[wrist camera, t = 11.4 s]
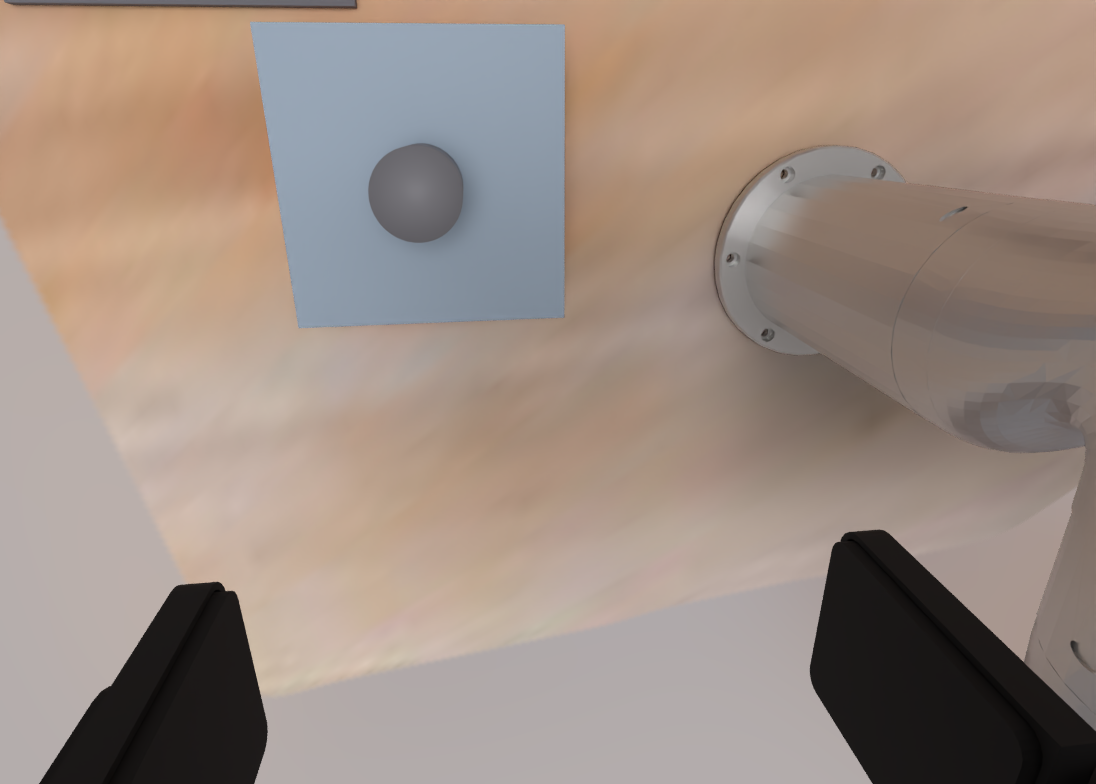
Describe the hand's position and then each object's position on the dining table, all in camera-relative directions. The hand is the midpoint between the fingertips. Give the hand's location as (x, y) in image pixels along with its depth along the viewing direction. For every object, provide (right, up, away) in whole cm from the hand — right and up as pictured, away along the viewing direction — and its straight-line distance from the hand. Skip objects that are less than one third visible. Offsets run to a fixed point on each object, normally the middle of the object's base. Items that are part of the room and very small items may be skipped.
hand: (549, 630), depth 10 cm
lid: (-6, +13, +20) cm, 25 cm away
